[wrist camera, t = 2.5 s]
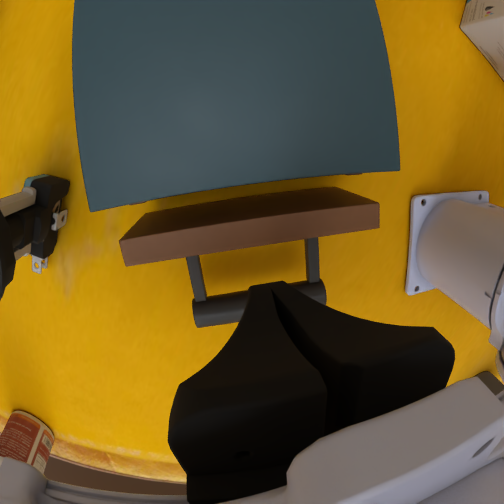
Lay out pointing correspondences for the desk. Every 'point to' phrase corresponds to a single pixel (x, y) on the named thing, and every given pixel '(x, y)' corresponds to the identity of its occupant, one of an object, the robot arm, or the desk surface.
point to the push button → (30, 224)
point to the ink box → (486, 29)
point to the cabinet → (227, 94)
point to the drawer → (246, 237)
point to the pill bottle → (26, 440)
